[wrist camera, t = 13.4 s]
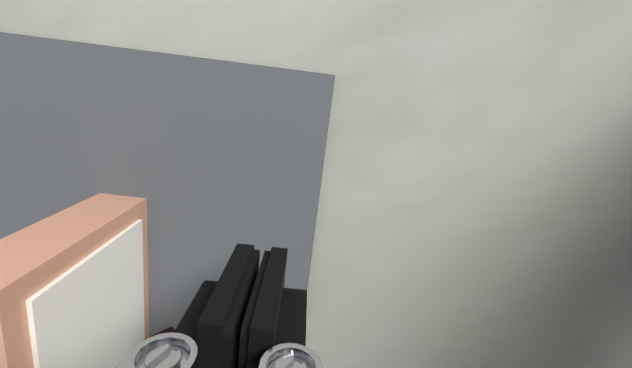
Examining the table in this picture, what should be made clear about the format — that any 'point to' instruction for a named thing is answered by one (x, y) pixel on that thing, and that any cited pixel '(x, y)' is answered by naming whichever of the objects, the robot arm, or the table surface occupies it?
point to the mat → (166, 153)
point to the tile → (76, 286)
